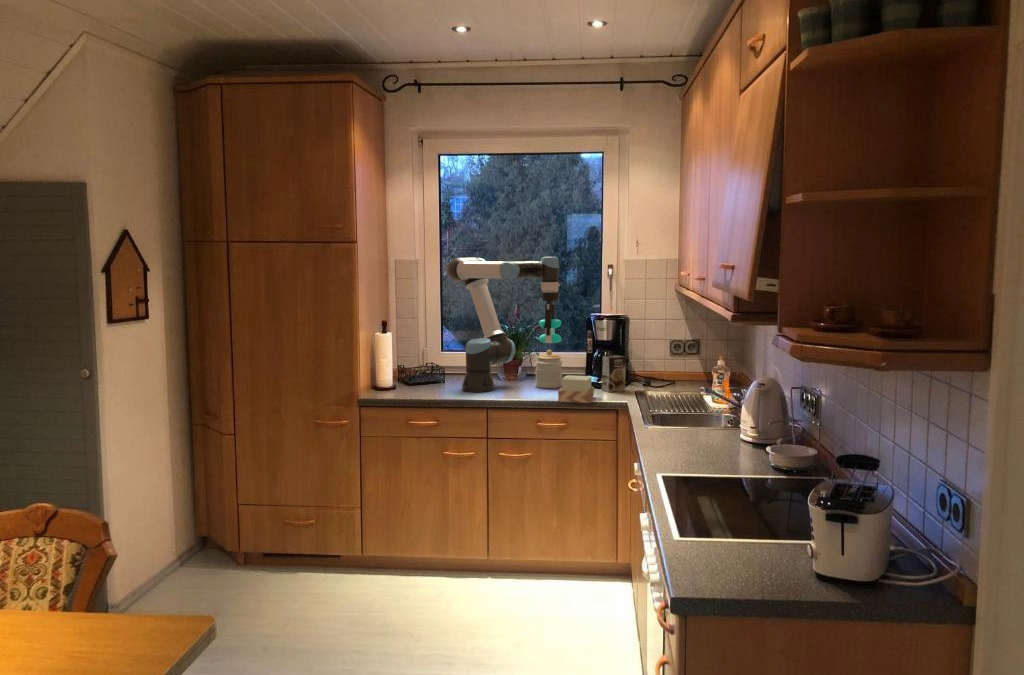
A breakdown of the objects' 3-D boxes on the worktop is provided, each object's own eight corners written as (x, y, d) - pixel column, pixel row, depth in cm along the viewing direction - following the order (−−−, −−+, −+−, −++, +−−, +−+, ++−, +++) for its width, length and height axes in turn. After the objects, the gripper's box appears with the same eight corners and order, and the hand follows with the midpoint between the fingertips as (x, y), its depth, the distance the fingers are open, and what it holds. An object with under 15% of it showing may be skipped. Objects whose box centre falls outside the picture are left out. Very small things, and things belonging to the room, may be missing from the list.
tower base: (558, 402, 332) (558, 391, 332) (562, 396, 346) (562, 385, 345) (590, 403, 329) (590, 392, 329) (593, 397, 343) (593, 386, 343)
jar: (539, 389, 361) (539, 351, 359) (532, 384, 373) (532, 348, 371) (566, 388, 364) (566, 351, 362) (558, 383, 376) (558, 347, 374)
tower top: (561, 390, 333) (562, 379, 332) (566, 386, 343) (566, 375, 343) (587, 391, 330) (587, 380, 329) (591, 387, 340) (591, 376, 340)
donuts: (551, 318, 351) (565, 319, 343) (551, 340, 352) (565, 342, 344) (534, 319, 345) (548, 321, 337) (534, 341, 346) (548, 343, 338)
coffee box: (609, 392, 353) (610, 357, 351) (601, 390, 359) (602, 355, 357) (625, 390, 357) (626, 356, 355) (617, 388, 363) (618, 354, 361)
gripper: (555, 292, 331) (555, 344, 334) (561, 290, 353) (561, 338, 356) (537, 292, 333) (538, 344, 335) (545, 290, 355) (545, 338, 357)
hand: (550, 341), depth 345 cm, fingers closed on donuts, 10 cm apart
